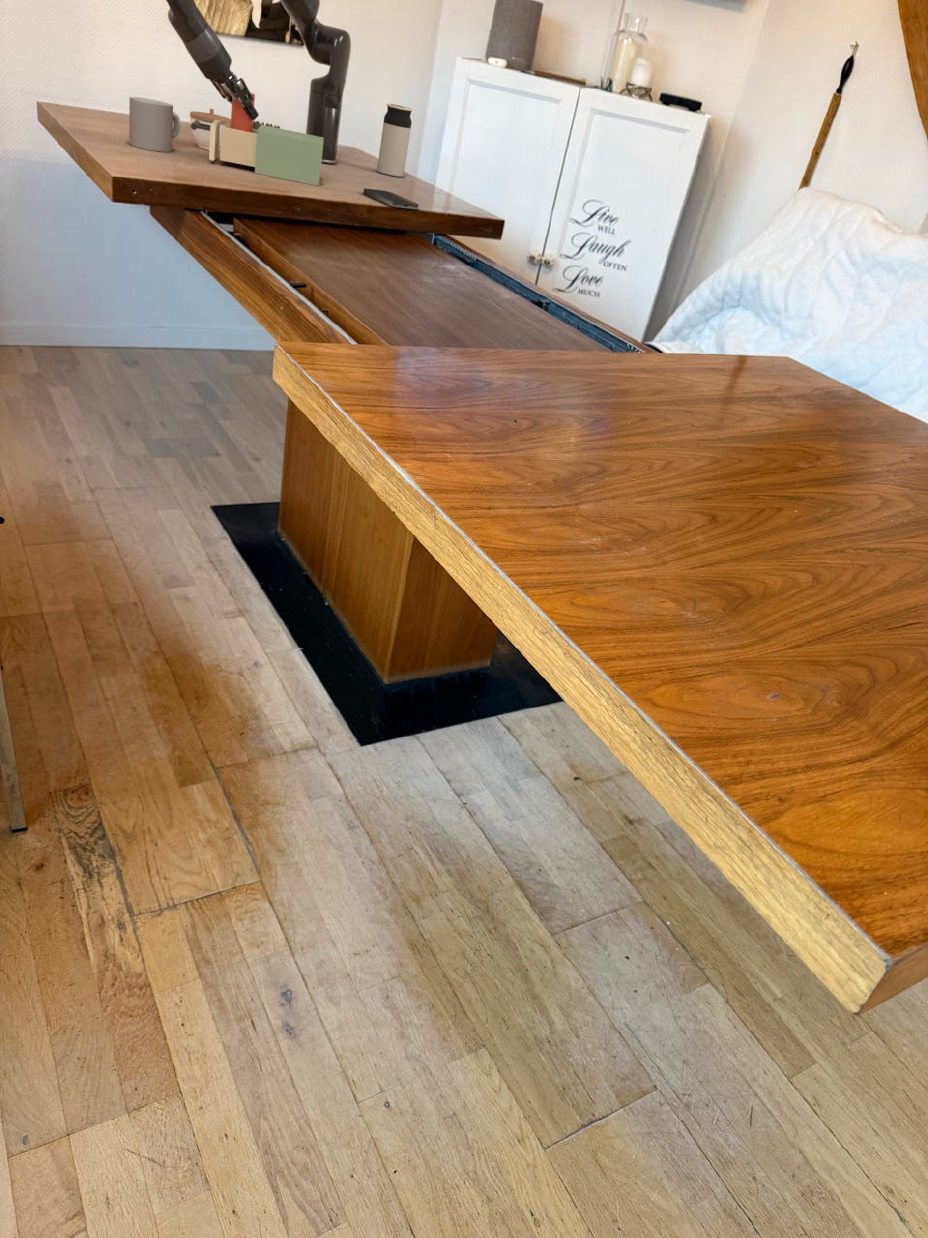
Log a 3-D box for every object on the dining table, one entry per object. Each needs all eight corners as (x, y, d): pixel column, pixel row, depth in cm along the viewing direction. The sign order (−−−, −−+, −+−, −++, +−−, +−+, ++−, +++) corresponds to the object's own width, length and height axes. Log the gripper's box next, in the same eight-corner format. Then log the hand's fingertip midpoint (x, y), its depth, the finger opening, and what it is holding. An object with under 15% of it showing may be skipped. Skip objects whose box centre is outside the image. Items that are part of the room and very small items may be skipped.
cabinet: (254, 173, 224) (257, 129, 219) (257, 166, 234) (260, 124, 229) (318, 185, 227) (323, 142, 222) (319, 178, 237) (323, 137, 232)
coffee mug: (141, 149, 220) (142, 102, 215) (121, 140, 225) (122, 94, 220) (192, 154, 229) (193, 109, 223) (171, 145, 234) (173, 101, 229)
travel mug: (378, 173, 268) (388, 104, 258) (375, 169, 274) (384, 101, 265) (405, 178, 270) (415, 110, 260) (401, 174, 276) (411, 107, 267)
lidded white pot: (235, 151, 248) (238, 112, 243) (223, 154, 239) (225, 114, 234) (197, 142, 248) (198, 103, 243) (182, 145, 239) (184, 104, 234)
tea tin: (228, 129, 225) (231, 88, 220) (249, 133, 227) (252, 92, 222) (232, 133, 221) (234, 90, 216) (253, 136, 223) (257, 95, 219)
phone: (388, 190, 234) (420, 204, 225) (387, 195, 235) (419, 209, 225) (361, 187, 229) (393, 201, 220) (361, 192, 230) (392, 206, 221)
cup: (274, 159, 249) (277, 127, 245) (247, 153, 249) (249, 121, 244) (279, 157, 256) (282, 125, 251) (253, 151, 255) (255, 119, 251)
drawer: (188, 155, 220) (189, 119, 216) (194, 149, 230) (195, 115, 226) (269, 171, 224) (272, 136, 220) (272, 165, 234) (274, 131, 230)
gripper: (233, 43, 206) (275, 110, 219) (202, 34, 214) (244, 99, 228) (210, 66, 205) (254, 132, 219) (180, 56, 213) (224, 120, 227)
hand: (249, 115), depth 223 cm, fingers closed on tea tin, 5 cm apart
